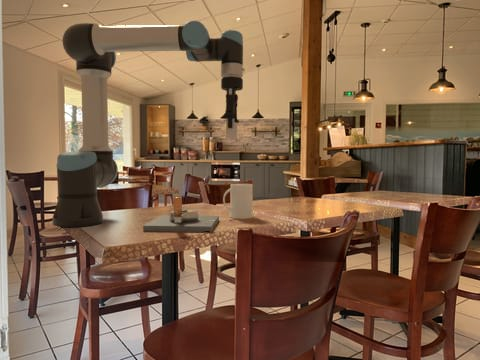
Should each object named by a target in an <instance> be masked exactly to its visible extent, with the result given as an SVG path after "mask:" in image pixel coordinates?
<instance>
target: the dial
mask: <svg viewBox="0 0 480 360" xmlns="http://www.w3.org/2000/svg"><path fill="white" fill-rule="evenodd" d="M182 204H183V197H182V196H173V210H172V211H169V215H170V221H174V222H180V223H181V222H190V221H196V220H198V216H199V211H198V210H193V209H183V205H182Z"/></svg>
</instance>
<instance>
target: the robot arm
mask: <svg viewBox="0 0 480 360" xmlns="http://www.w3.org/2000/svg"><path fill="white" fill-rule="evenodd" d="M243 41H244V39H243V34H242V33H241V32H240V31H238V30H234V29H233V30H232V29H228V30H223V32H222V33H220V37H218V38H217V37H216V38H211V36H210V34H209V31H208V29H207V28H206V26H205V25H204V24H203V23H202V22H200V21H198V20H189V21H188V22H186V23H185V24H184V25H183V24H182V25H180V24H179V25H126V26H125V25H116V26H115V25H113V26H111V25H110V26H109V25H108V26H107V25H105V26H102V25H101V24H100V23H98V22H82V23H75V24H73V25H71V26H69V27H67V28H66V30H65V31H64V33H63V35H62V47H63V49H64V51H65V53H66V54H67V55H68V57H70V58H71V59H72V60H74V61H75V64H76V65H75V66H76V68H75V69H76V74H77V75H78V76H79V77H80V78H81V83H80V84H81V116H82V117H81V118H82V120H81V121H82V122H81V124H82V145H81V147H80V148H79V149H78V151H76V150H75V151H67V152H66V151H65V152H61V153H60V154H58V156H56V157H57V159H56V161H57V162H56V176H57V178H56V179H57V203H56V205H55V208H54V209H55V210H54V213H53V215H52V226H54V227H59V228H77V227H78V228H79V227H80V228H81V227H89V226H90V227H91V226H95V225H99V224H102V223H103V222H104V215H103V211H102V210H101V206H100V203H99V201H98V188H99V189H101V188H104V187H107V186H109V185H110V184H112V183H113V182H114V181H115V180H116V178H117V175H118V172H119V169H118V168H119V166H118V165H117V162H116V161H115V160H114V152H113V151H114V150H113V149H112V148H111V147H110V145H109V112H108V111H109V110H108V108H109V107H108V103H109V101H108V79H109V78H111V77H112V69H113V67H114V66H115V65H116V64H115V63H116V60H117V59H116V58H117V56H116V53H117V52H118V53H119V52H121V53H122V52H123V53H125V52H131V53H132V52H185V55H186V59H187V60H188V61H189V62H196V63H200V62H220V63H221V64H220V76H221V81H220V82H221V83H220V85H221V86H220V88H221V90H223V91H225V92H226V94H225V99H226V100H225V103H226V104H225V114H223V119H225V138H226V139H229V141H238V123H239V122H240V120H238V99H239V95H238V94H237V92H236V91H238V92H239V91H242V90H243V88H244V85H243V84H244V83H243V82H244V80H243V76H244V75H243V72H245V69H246V68H244V67H243V64H244V42H243Z"/></svg>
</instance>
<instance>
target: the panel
mask: <svg viewBox="0 0 480 360" xmlns="http://www.w3.org/2000/svg"><path fill="white" fill-rule="evenodd" d="M219 217H220V216H219V215H198V220H196V221H190V222H181V223H180V222H174V221H170V214H169V215H168V214H166V215H165V214H160V215H159V216H157V217H156V218H154V219H152V220H150V221H149V222H147V223H145V224H143V225H142V226H143V227H142V231H143V232H179V233H180V232H181V233H182V232H184V233H185V232H186V233H188V232H189V233H192V232H193V233H203V232H202V231H213V230H214V228H215V227H216V225H217V224H218V222H219V219H220V218H219ZM214 226H215V227H214ZM212 229H213V230H212Z"/></svg>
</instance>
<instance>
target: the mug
mask: <svg viewBox="0 0 480 360" xmlns="http://www.w3.org/2000/svg"><path fill="white" fill-rule="evenodd" d="M253 187H254V185H253V184H252V183H231V184H230V187H229V188H228V189H227V190H225V192H224V194H223V198H222V203H223V205H224V207H225V209H227V210H229V213H230V214H229V218H231V219H235V220H248V219H252V218H254V216H253V215H254V214H253V201H254V200H253V195H254V194H253V191H254V190H253ZM228 193H230V194H229V195H230V201H229V202H230V204H229V205H230V207H229V206H228V205H227V204H226V196H227V195H228Z"/></svg>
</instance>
